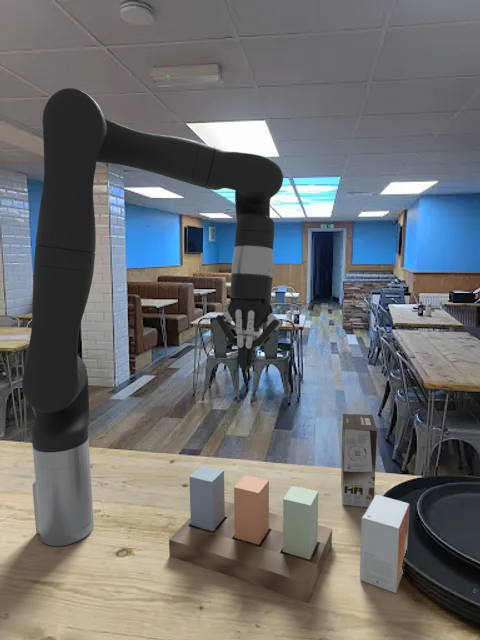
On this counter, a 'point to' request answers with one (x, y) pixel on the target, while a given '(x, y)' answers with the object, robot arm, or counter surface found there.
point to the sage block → (300, 521)
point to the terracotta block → (251, 509)
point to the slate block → (207, 497)
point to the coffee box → (358, 459)
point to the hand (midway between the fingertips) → (245, 368)
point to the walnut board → (252, 555)
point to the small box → (384, 542)
